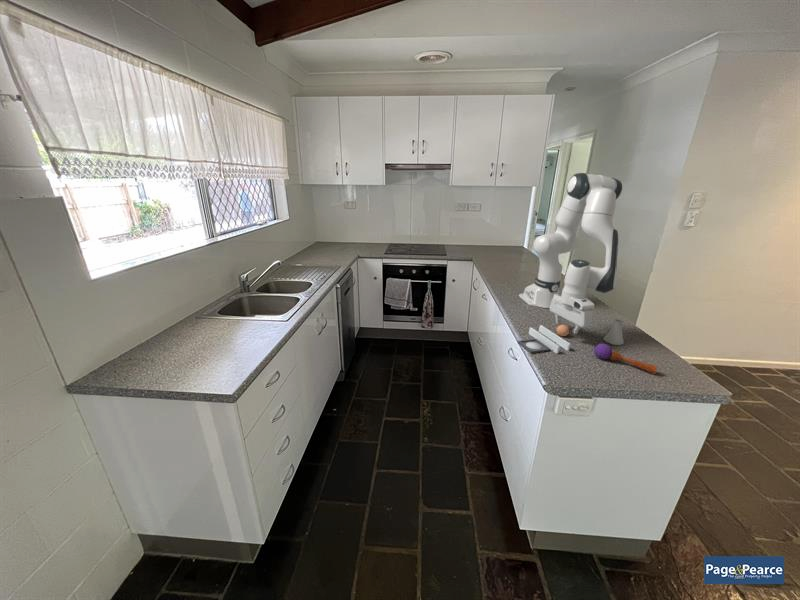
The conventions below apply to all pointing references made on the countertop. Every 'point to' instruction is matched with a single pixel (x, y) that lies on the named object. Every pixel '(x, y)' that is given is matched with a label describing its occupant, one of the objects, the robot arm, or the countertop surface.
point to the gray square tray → (533, 345)
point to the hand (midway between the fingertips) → (566, 328)
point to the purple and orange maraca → (621, 358)
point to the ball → (562, 330)
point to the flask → (615, 333)
